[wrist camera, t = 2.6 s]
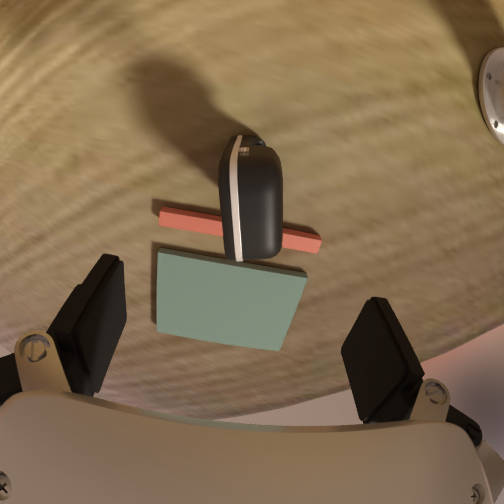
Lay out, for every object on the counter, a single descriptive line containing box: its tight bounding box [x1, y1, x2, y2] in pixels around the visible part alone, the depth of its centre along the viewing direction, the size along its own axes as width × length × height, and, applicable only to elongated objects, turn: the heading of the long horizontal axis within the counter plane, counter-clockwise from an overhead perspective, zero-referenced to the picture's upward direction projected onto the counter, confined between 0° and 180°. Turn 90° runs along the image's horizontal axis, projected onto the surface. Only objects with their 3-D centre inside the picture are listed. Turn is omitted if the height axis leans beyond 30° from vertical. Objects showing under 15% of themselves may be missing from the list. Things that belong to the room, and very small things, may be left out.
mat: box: [157, 248, 308, 351], centre depth 34 cm, size 16×12×1 cm
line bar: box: [159, 207, 322, 253], centre depth 29 cm, size 16×2×1 cm, turn 78°
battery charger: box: [218, 135, 283, 262], centre depth 22 cm, size 7×4×11 cm, turn 2°
